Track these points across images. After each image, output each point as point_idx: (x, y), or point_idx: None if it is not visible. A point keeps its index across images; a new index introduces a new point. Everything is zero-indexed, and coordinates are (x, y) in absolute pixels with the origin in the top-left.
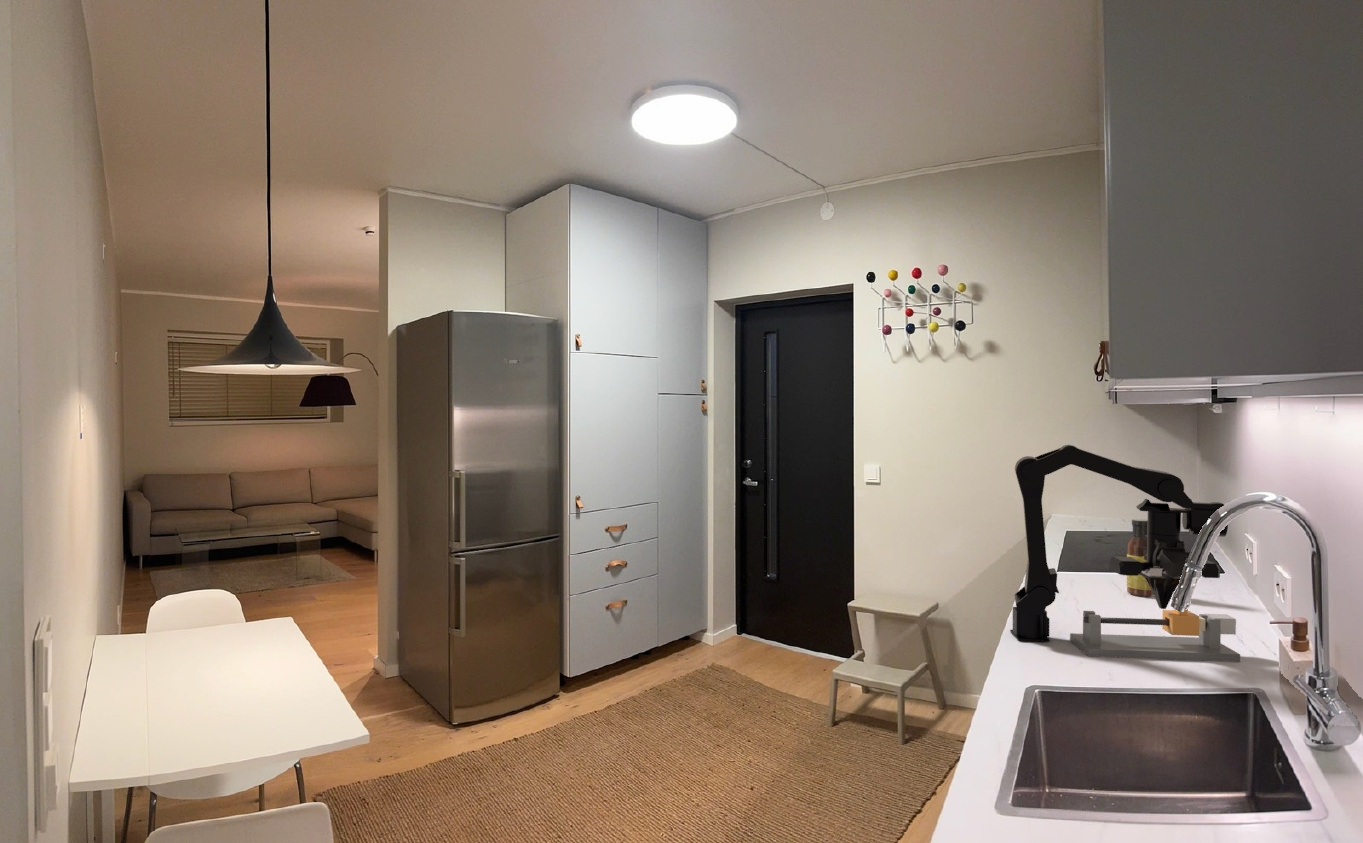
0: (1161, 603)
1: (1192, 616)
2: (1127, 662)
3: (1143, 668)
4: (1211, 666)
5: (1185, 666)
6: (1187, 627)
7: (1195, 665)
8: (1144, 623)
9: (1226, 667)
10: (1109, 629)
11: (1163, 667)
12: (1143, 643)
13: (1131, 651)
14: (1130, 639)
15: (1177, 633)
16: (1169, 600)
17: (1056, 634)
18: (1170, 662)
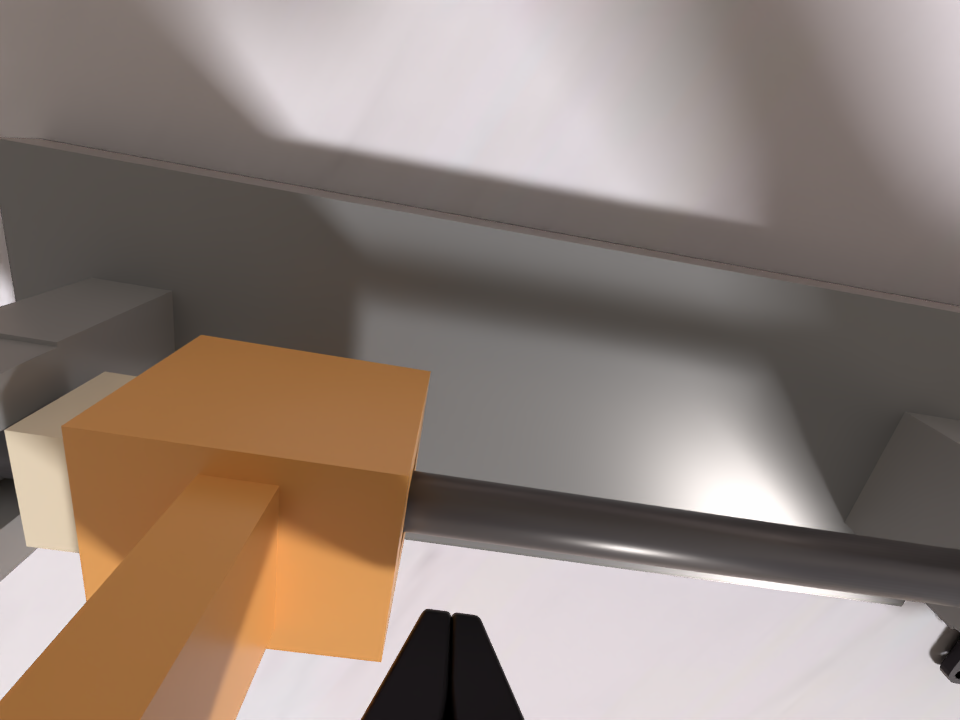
0: (493, 681)
1: (153, 438)
2: (867, 187)
3: (864, 46)
4: (311, 57)
5: (511, 71)
6: (274, 382)
7: (420, 89)
8: (635, 503)
9: (206, 24)
10: (516, 698)
11: (694, 59)
12: (588, 419)
13: (793, 281)
14: (617, 492)
15: (384, 370)
16: (366, 718)
17: (858, 651)
18: (561, 167)
